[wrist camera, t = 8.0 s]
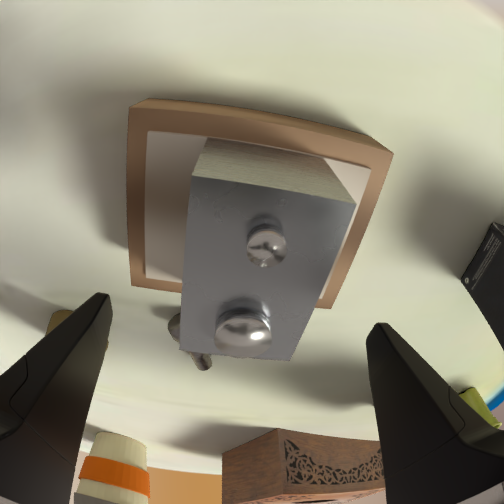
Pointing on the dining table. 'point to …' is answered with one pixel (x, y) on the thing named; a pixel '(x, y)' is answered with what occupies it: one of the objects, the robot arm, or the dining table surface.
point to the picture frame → (185, 159)
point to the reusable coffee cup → (114, 472)
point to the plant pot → (479, 406)
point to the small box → (489, 280)
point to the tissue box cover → (301, 469)
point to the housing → (257, 248)
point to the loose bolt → (200, 359)
